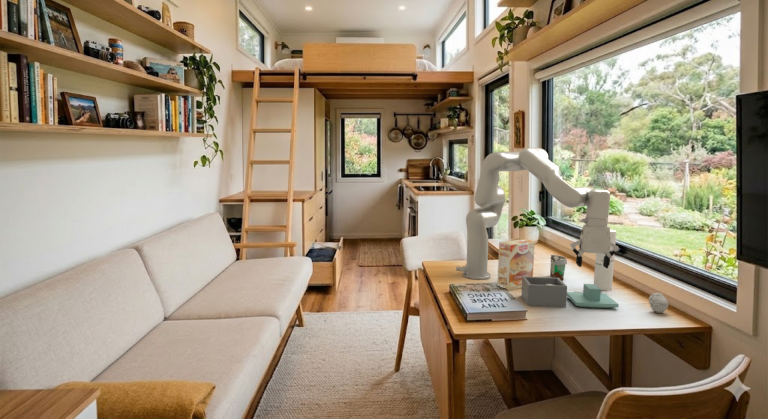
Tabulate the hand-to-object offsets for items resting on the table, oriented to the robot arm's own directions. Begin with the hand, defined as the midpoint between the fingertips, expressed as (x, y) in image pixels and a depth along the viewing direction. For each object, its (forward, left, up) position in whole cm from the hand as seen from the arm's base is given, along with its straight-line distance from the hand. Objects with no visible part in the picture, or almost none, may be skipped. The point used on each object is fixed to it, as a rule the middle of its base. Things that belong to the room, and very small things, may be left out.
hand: (592, 266), depth 176 cm
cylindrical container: (+12, +22, -15) cm, 29 cm away
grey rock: (+21, -7, -15) cm, 27 cm away
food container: (-3, +34, -15) cm, 37 cm away
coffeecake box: (-25, +20, -15) cm, 35 cm away
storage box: (-18, 0, -14) cm, 23 cm away
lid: (0, 0, -14) cm, 14 cm away
